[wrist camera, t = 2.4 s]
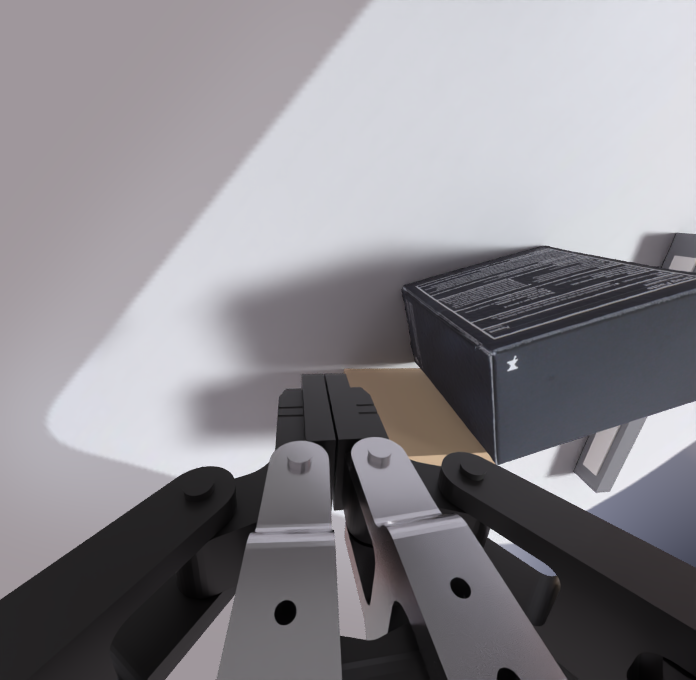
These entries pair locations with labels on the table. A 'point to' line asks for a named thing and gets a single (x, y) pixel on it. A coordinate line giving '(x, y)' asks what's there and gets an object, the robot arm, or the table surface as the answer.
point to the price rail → (615, 443)
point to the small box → (554, 345)
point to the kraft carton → (416, 414)
